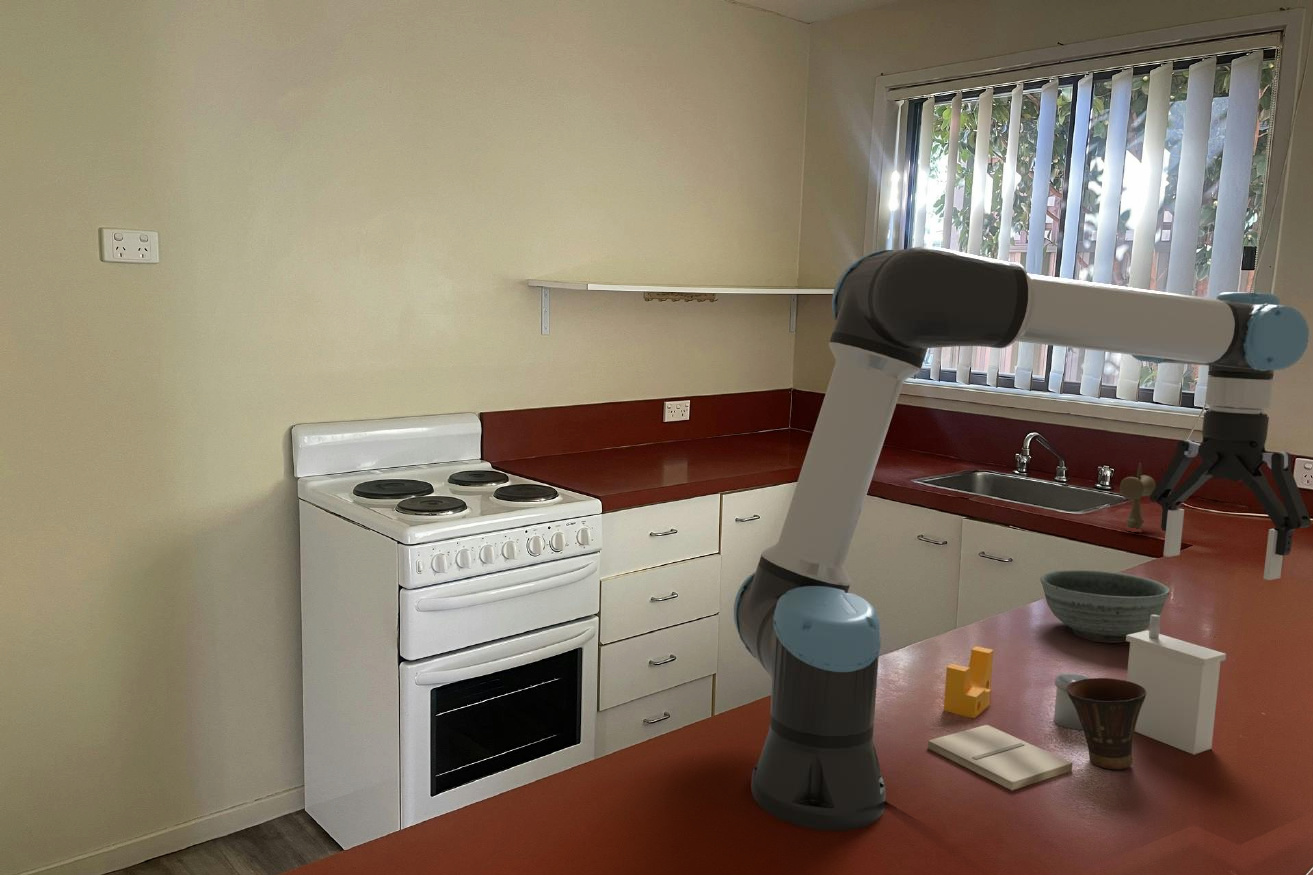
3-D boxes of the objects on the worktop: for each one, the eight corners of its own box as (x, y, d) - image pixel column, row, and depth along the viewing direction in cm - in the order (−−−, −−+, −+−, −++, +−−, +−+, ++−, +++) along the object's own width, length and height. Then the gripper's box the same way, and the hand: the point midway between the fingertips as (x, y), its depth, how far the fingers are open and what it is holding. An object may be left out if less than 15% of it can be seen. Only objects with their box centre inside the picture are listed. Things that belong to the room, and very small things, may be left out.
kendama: (1113, 538, 262) (1121, 462, 260) (1128, 534, 269) (1135, 459, 266) (1137, 543, 258) (1145, 465, 255) (1152, 538, 264) (1159, 462, 262)
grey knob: (1079, 733, 135) (1083, 690, 134) (1042, 719, 139) (1046, 676, 139) (1104, 726, 138) (1108, 683, 137) (1067, 712, 142) (1071, 670, 142)
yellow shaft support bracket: (974, 719, 139) (977, 674, 138) (943, 711, 141) (946, 666, 141) (1002, 695, 149) (1005, 652, 148) (972, 687, 151) (976, 645, 150)
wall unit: (1195, 756, 129) (1207, 636, 127) (1117, 725, 138) (1128, 613, 136) (1216, 748, 131) (1228, 631, 130) (1138, 719, 141) (1149, 608, 139)
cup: (1050, 744, 131) (1056, 670, 130) (1120, 748, 131) (1127, 673, 130) (1076, 775, 122) (1083, 696, 121) (1151, 779, 122) (1159, 699, 121)
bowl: (1132, 664, 164) (1138, 604, 163) (1013, 631, 179) (1018, 576, 178) (1185, 640, 178) (1190, 584, 176) (1070, 611, 193) (1074, 560, 192)
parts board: (1011, 790, 118) (1012, 781, 118) (927, 747, 129) (928, 739, 128) (1071, 770, 123) (1072, 761, 123) (986, 731, 134) (987, 723, 134)
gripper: (1354, 419, 126) (1334, 586, 128) (1163, 401, 147) (1149, 544, 149) (1324, 420, 122) (1303, 592, 124) (1132, 401, 143) (1118, 548, 145)
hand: (1219, 566), depth 137 cm, fingers open, 13 cm apart
